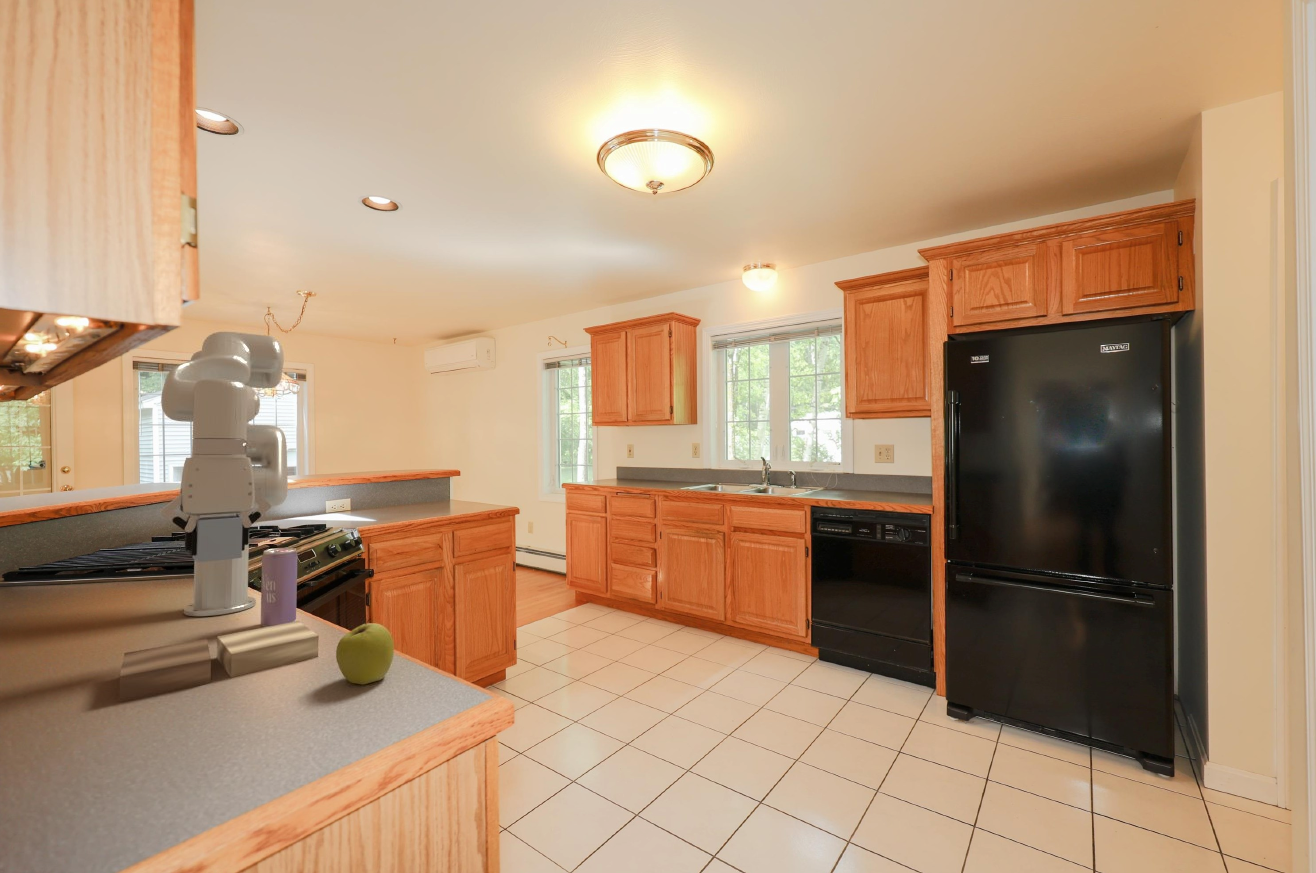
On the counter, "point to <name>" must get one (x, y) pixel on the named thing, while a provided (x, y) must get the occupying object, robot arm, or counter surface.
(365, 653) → the apple
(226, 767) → the counter surface
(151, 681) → the walnut plinth
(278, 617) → the beverage can
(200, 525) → the grey block
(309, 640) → the maple plinth
